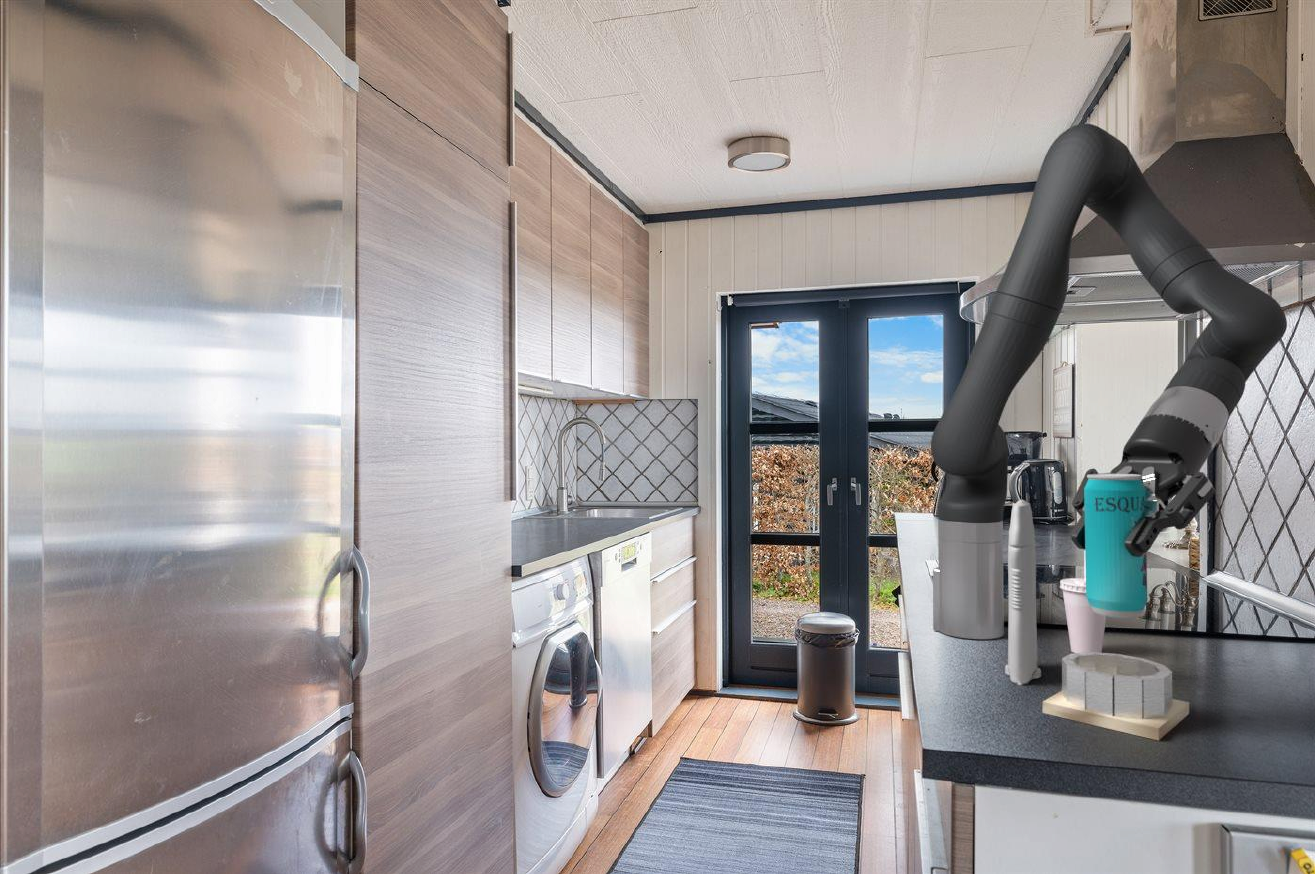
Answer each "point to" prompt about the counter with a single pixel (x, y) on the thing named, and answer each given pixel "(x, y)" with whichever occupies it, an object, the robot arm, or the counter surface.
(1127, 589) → the beverage can
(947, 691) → the counter surface
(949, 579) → the robot arm
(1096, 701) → the collar
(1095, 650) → the smoothie
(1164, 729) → the base board
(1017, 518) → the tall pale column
